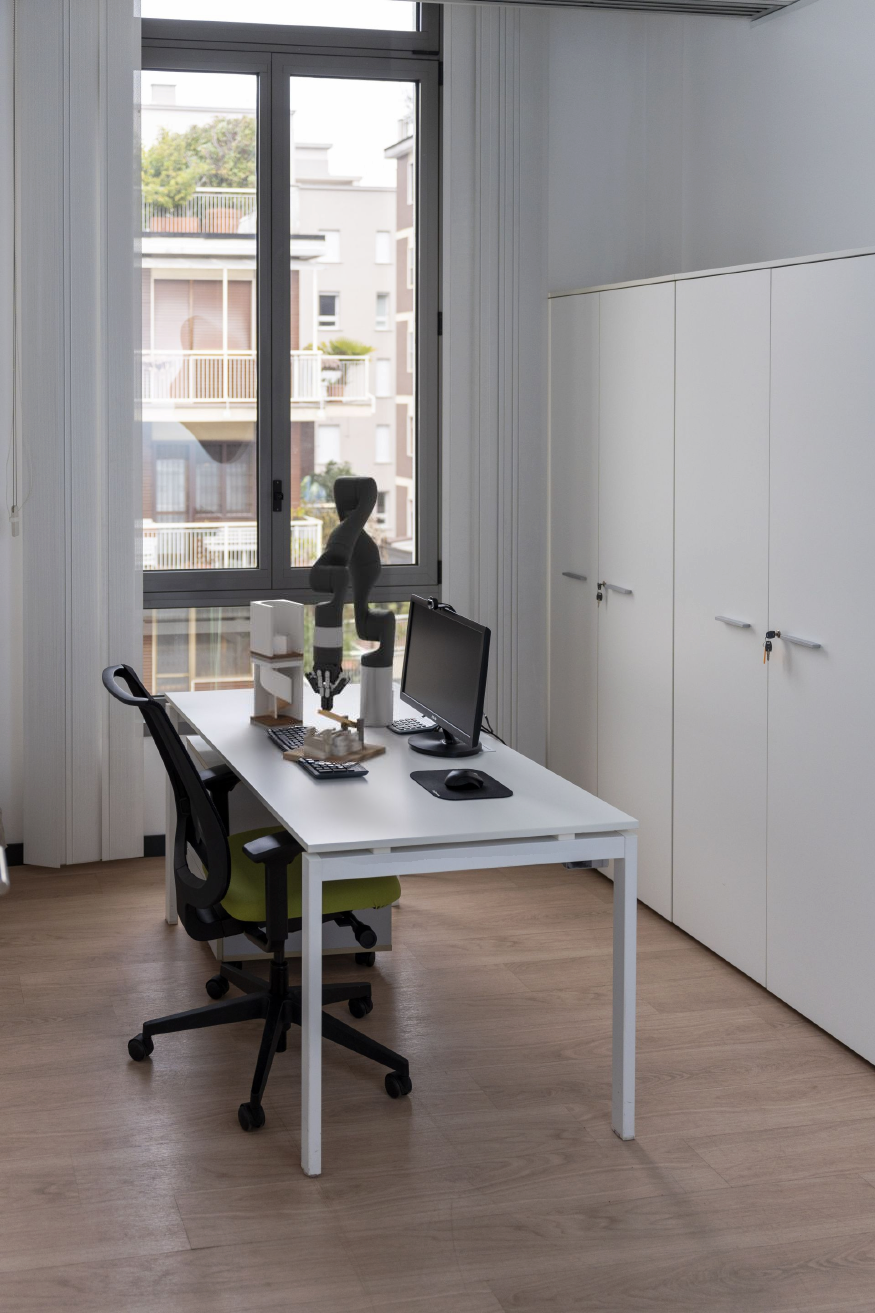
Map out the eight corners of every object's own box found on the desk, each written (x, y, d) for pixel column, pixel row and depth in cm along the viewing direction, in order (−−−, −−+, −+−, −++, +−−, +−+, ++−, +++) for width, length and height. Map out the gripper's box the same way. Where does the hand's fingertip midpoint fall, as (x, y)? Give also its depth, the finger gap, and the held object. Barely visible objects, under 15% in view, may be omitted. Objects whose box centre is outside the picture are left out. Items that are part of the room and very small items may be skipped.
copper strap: (348, 727, 351) (349, 721, 352) (358, 729, 350) (359, 723, 350) (317, 714, 338) (318, 708, 338) (326, 715, 336) (328, 709, 337)
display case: (250, 723, 378) (250, 601, 372) (282, 719, 384) (283, 599, 378) (269, 731, 369) (270, 606, 363) (302, 727, 375) (303, 604, 369)
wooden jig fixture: (329, 742, 358) (329, 711, 356) (385, 752, 349) (386, 720, 348) (282, 758, 340) (283, 725, 338) (341, 769, 331) (341, 735, 330)
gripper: (358, 644, 336) (356, 711, 339) (315, 639, 343) (314, 705, 345) (341, 648, 330) (340, 716, 332) (298, 642, 336) (297, 709, 339)
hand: (326, 710), depth 339 cm, fingers closed
